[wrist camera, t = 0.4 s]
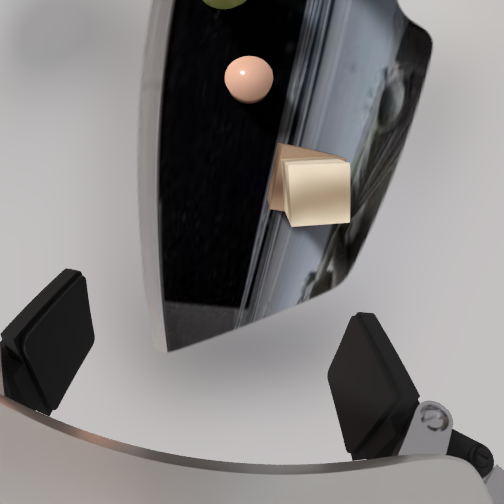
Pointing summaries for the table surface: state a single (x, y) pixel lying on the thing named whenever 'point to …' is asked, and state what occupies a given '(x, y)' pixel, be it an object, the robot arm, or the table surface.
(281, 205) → the walnut block
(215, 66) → the table surface
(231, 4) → the plant pot
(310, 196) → the beech block
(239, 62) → the peach rounded solid
